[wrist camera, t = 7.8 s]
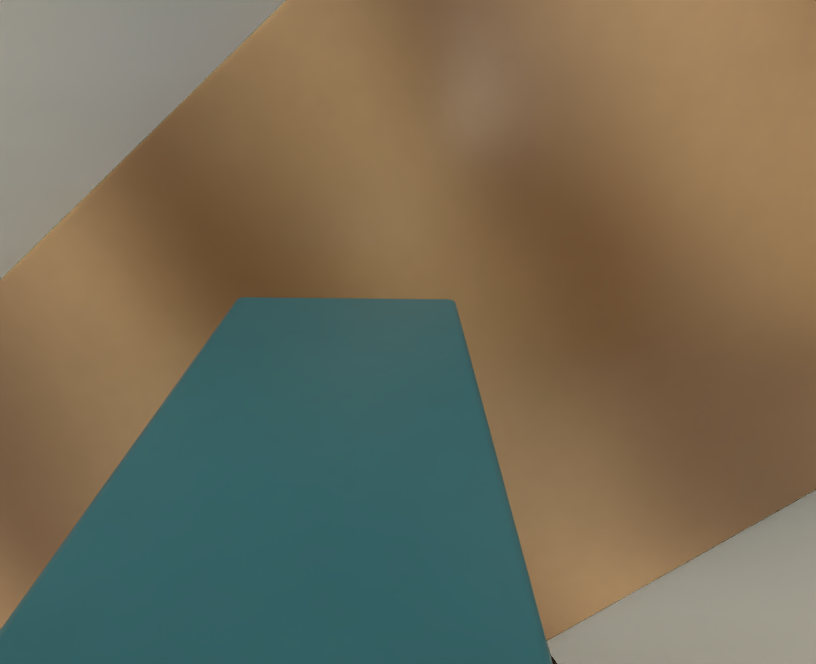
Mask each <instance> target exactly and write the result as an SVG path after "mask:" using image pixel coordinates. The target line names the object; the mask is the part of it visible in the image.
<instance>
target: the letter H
mask: <svg viewBox="0 0 816 664" xmlns="http://www.w3.org/2000/svg"><path fill="white" fill-rule="evenodd" d="M0 664H553V663H552V659H551V655H550V651H549V648H548V644H547V640H546V637H545V633H544V629H543V625H542V622H541V618H540V614H539V611H538V607H537V603H536V599H535V596H534V592H533V588H532V585H531V581H530V577H529V573H528V570H527V566H526V562H525V559H524V555H523V551H522V547H521V544H520V540H519V536H518V533H517V529H516V525H515V521H514V518H513V514H512V510H511V507H510V503H509V499H508V495H507V492H506V488H505V484H504V481H503V477H502V473H501V469H500V466H499V462H498V458H497V454H496V451H495V447H494V443H493V440H492V436H491V432H490V428H489V425H488V421H487V417H486V414H485V410H484V406H483V402H482V399H481V395H480V391H479V388H478V384H477V380H476V376H475V373H474V369H473V365H472V362H471V358H470V354H469V350H468V347H467V343H466V339H465V336H464V332H463V328H462V324H461V321H460V317H459V313H458V310H457V306H456V303H455V301H453V300H450V299H368V298H265V297H241V298H239V299H237V300H236V301H235V303H234V304H233V306H232V307H231V308H230V310H229V311H228V313H227V314H226V315H225V317H224V318H223V320H222V321H221V322H220V324H219V325H218V327H217V328H216V329H215V331H214V332H213V334H212V335H211V336H210V338H209V339H208V340H207V342H206V343H205V345H204V346H203V347H202V349H201V350H200V352H199V353H198V354H197V356H196V357H195V359H194V360H193V361H192V363H191V364H190V366H189V367H188V368H187V370H186V371H185V373H184V374H183V375H182V377H181V378H180V380H179V381H178V382H177V384H176V385H175V387H174V388H173V389H172V391H171V392H170V394H169V395H168V396H167V398H166V399H165V401H164V402H163V403H162V405H161V406H160V408H159V409H158V410H157V412H156V413H155V414H154V416H153V417H152V419H151V420H150V421H149V423H148V424H147V426H146V427H145V428H144V430H143V431H142V433H141V434H140V435H139V437H138V438H137V440H136V441H135V442H134V444H133V445H132V447H131V448H130V449H129V451H128V452H127V454H126V455H125V456H124V458H123V459H122V461H121V462H120V463H119V465H118V466H117V468H116V469H115V470H114V472H113V473H112V475H111V476H110V477H109V479H108V480H107V482H106V483H105V484H104V486H103V487H102V488H101V490H100V491H99V493H98V494H97V495H96V497H95V498H94V500H93V501H92V502H91V504H90V505H89V507H88V508H87V509H86V511H85V512H84V514H83V515H82V516H81V518H80V519H79V521H78V522H77V523H76V525H75V526H74V528H73V529H72V530H71V532H70V533H69V535H68V536H67V537H66V539H65V540H64V542H63V543H62V544H61V546H60V547H59V549H58V550H57V551H56V553H55V554H54V555H53V557H52V558H51V560H50V561H49V562H48V564H47V565H46V567H45V568H44V569H43V571H42V572H41V574H40V575H39V576H38V578H37V579H36V581H35V582H34V583H33V585H32V586H31V588H30V589H29V590H28V592H27V593H26V595H25V596H24V597H23V599H22V600H21V602H20V603H19V604H18V606H17V607H16V609H15V610H14V611H13V613H12V614H11V616H10V617H9V618H8V620H7V621H6V623H5V624H4V625H3V627H2V628H1V629H0Z"/></svg>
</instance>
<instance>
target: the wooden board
mask: <svg viewBox="0 0 816 664" xmlns="http://www.w3.org/2000/svg"><path fill="white" fill-rule="evenodd" d="M241 297H265V298H368V299H450V300H453V301H455V303H456V306H457V310H458V313H459V317H460V321H461V324H462V328H463V332H464V336H465V339H466V343H467V347H468V350H469V354H470V358H471V362H472V365H473V369H474V373H475V376H476V380H477V384H478V388H479V391H480V395H481V399H482V402H483V406H484V410H485V414H486V417H487V421H488V425H489V428H490V432H491V436H492V440H493V443H494V447H495V451H496V454H497V458H498V462H499V466H500V469H501V473H502V477H503V481H504V484H505V488H506V492H507V495H508V499H509V503H510V507H511V510H512V514H513V518H514V521H515V525H516V529H517V533H518V536H519V540H520V544H521V547H522V551H523V555H524V559H525V562H526V566H527V570H528V573H529V577H530V581H531V585H532V588H533V592H534V596H535V599H536V603H537V607H538V611H539V614H540V618H541V622H542V625H543V629H544V633H545V637H546V640H547V641H548V640H549V639H551V638H553V637H555V636H556V635H558V634H560V633H562V632H564V631H565V630H567V629H569V628H571V627H572V626H574V625H576V624H578V623H580V622H581V621H583V620H585V619H587V618H588V617H590V616H592V615H594V614H596V613H597V612H599V611H601V610H603V609H604V608H606V607H608V606H610V605H612V604H613V603H615V602H617V601H619V600H620V599H622V598H624V597H626V596H628V595H629V594H631V593H633V592H635V591H636V590H638V589H640V588H642V587H644V586H645V585H647V584H649V583H651V582H652V581H654V580H656V579H658V578H660V577H661V576H663V575H665V574H667V573H668V572H670V571H672V570H674V569H676V568H677V567H679V566H681V565H683V564H685V563H686V562H688V561H690V560H692V559H693V558H695V557H697V556H699V555H701V554H702V553H704V552H706V551H708V550H709V549H711V548H713V547H715V546H717V545H718V544H720V543H722V542H724V541H725V540H727V539H729V538H731V537H733V536H734V535H736V534H738V533H740V532H741V531H743V530H745V529H747V528H749V527H750V526H752V525H754V524H756V523H757V522H759V521H761V520H763V519H765V518H766V517H768V516H770V515H772V514H773V513H775V512H777V511H779V510H781V509H782V508H784V507H786V506H788V505H789V504H791V503H793V502H795V501H797V500H798V499H800V498H802V497H804V496H805V495H807V494H809V493H811V492H813V491H814V490H816V0H286V1H285V2H284V3H283V4H282V5H281V6H280V7H279V8H278V9H277V10H275V11H274V12H273V13H272V14H271V15H270V16H269V17H268V18H267V19H266V20H265V21H264V22H263V23H262V24H261V25H260V26H259V27H258V28H257V29H256V30H255V31H254V32H253V33H252V34H251V35H250V36H249V37H248V38H247V39H246V40H245V41H244V42H243V43H242V44H241V45H240V46H239V47H238V48H237V49H236V50H235V51H234V52H233V53H232V54H231V55H230V56H229V57H227V58H226V59H225V60H224V61H223V62H222V63H221V64H220V65H219V66H218V67H217V68H216V69H215V70H214V71H213V72H212V73H211V74H210V75H209V76H208V77H207V78H206V79H205V80H204V81H203V82H202V83H201V84H200V85H199V86H198V87H197V88H196V89H195V90H194V91H193V92H192V93H191V94H190V95H189V96H188V97H187V98H186V99H185V100H184V101H183V102H182V103H180V104H179V105H178V106H177V107H176V108H175V109H174V110H173V111H172V112H171V113H170V114H169V115H168V116H167V117H166V118H165V119H164V120H163V121H162V122H161V123H160V124H159V125H158V126H157V127H156V128H155V129H154V130H153V131H152V132H151V133H150V134H149V135H148V136H147V137H146V138H145V139H144V140H143V141H142V142H141V143H140V144H139V145H138V146H137V147H136V148H135V149H134V150H132V151H131V152H130V153H129V154H128V155H127V156H126V157H125V158H124V159H123V160H122V161H121V162H120V163H119V164H118V165H117V166H116V167H115V168H114V169H113V170H112V171H111V172H110V173H109V174H108V175H107V176H106V177H105V178H104V179H103V180H102V181H101V182H100V183H99V184H98V185H97V186H96V187H95V188H94V189H93V190H92V191H91V192H90V193H89V194H88V195H87V196H86V197H84V198H83V199H82V200H81V201H80V202H79V203H78V204H77V205H76V206H75V207H74V208H73V209H72V210H71V211H70V212H69V213H68V214H67V215H66V216H65V217H64V218H63V219H62V220H61V221H60V222H59V223H58V224H57V225H56V226H55V227H54V228H53V229H52V230H51V231H50V232H49V233H48V234H47V235H46V236H45V237H44V238H43V239H42V240H41V241H40V242H39V243H38V244H36V245H35V246H34V247H33V248H32V249H31V250H30V251H29V252H28V253H27V254H26V255H25V256H24V257H23V258H22V259H21V260H20V261H19V262H18V263H17V264H16V265H15V266H14V267H13V268H12V269H11V270H10V271H9V272H8V273H7V274H6V275H5V276H4V277H3V278H2V279H1V280H0V629H1V628H2V627H3V625H4V624H5V623H6V621H7V620H8V618H9V617H10V616H11V614H12V613H13V611H14V610H15V609H16V607H17V606H18V604H19V603H20V602H21V600H22V599H23V597H24V596H25V595H26V593H27V592H28V590H29V589H30V588H31V586H32V585H33V583H34V582H35V581H36V579H37V578H38V576H39V575H40V574H41V572H42V571H43V569H44V568H45V567H46V565H47V564H48V562H49V561H50V560H51V558H52V557H53V555H54V554H55V553H56V551H57V550H58V549H59V547H60V546H61V544H62V543H63V542H64V540H65V539H66V537H67V536H68V535H69V533H70V532H71V530H72V529H73V528H74V526H75V525H76V523H77V522H78V521H79V519H80V518H81V516H82V515H83V514H84V512H85V511H86V509H87V508H88V507H89V505H90V504H91V502H92V501H93V500H94V498H95V497H96V495H97V494H98V493H99V491H100V490H101V488H102V487H103V486H104V484H105V483H106V482H107V480H108V479H109V477H110V476H111V475H112V473H113V472H114V470H115V469H116V468H117V466H118V465H119V463H120V462H121V461H122V459H123V458H124V456H125V455H126V454H127V452H128V451H129V449H130V448H131V447H132V445H133V444H134V442H135V441H136V440H137V438H138V437H139V435H140V434H141V433H142V431H143V430H144V428H145V427H146V426H147V424H148V423H149V421H150V420H151V419H152V417H153V416H154V414H155V413H156V412H157V410H158V409H159V408H160V406H161V405H162V403H163V402H164V401H165V399H166V398H167V396H168V395H169V394H170V392H171V391H172V389H173V388H174V387H175V385H176V384H177V382H178V381H179V380H180V378H181V377H182V375H183V374H184V373H185V371H186V370H187V368H188V367H189V366H190V364H191V363H192V361H193V360H194V359H195V357H196V356H197V354H198V353H199V352H200V350H201V349H202V347H203V346H204V345H205V343H206V342H207V340H208V339H209V338H210V336H211V335H212V334H213V332H214V331H215V329H216V328H217V327H218V325H219V324H220V322H221V321H222V320H223V318H224V317H225V315H226V314H227V313H228V311H229V310H230V308H231V307H232V306H233V304H234V303H235V301H236V300H237V299H239V298H241Z"/></svg>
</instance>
